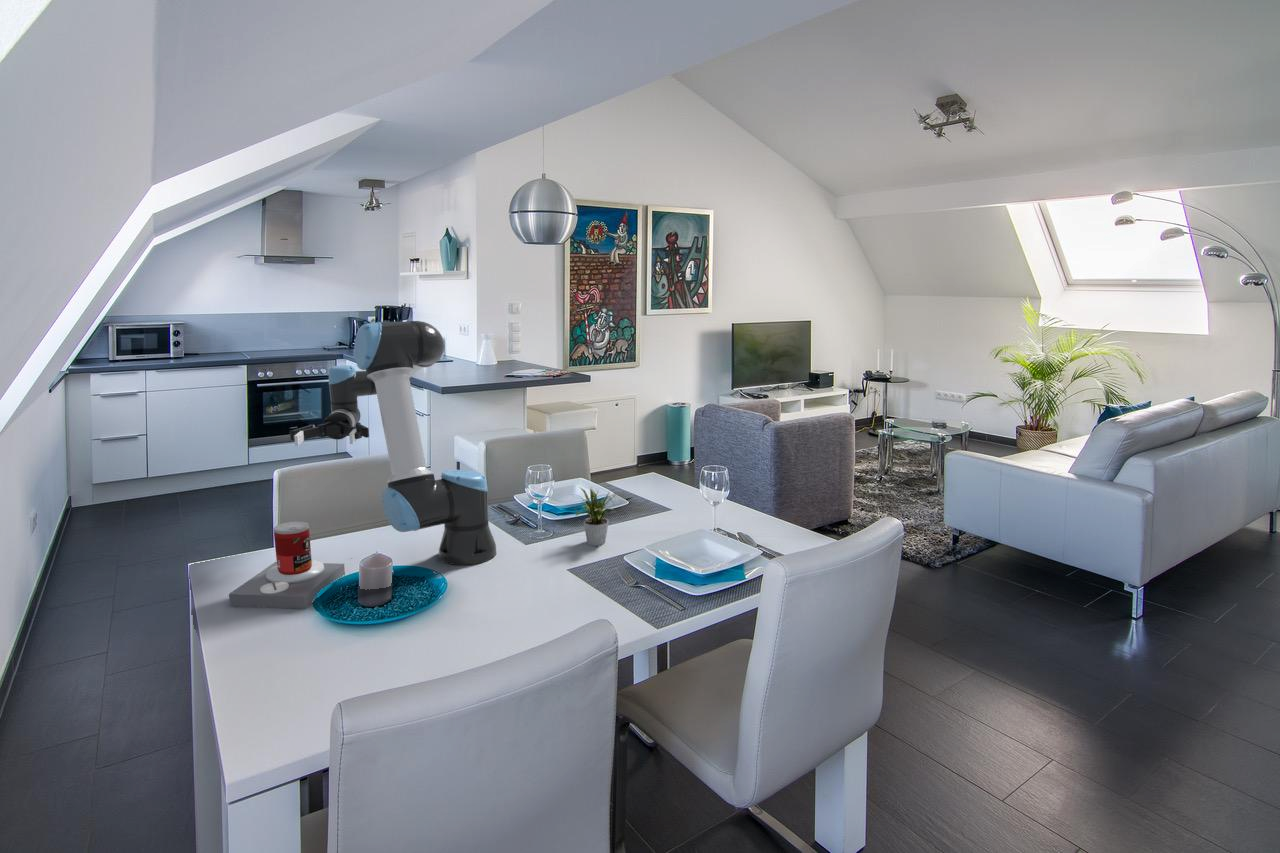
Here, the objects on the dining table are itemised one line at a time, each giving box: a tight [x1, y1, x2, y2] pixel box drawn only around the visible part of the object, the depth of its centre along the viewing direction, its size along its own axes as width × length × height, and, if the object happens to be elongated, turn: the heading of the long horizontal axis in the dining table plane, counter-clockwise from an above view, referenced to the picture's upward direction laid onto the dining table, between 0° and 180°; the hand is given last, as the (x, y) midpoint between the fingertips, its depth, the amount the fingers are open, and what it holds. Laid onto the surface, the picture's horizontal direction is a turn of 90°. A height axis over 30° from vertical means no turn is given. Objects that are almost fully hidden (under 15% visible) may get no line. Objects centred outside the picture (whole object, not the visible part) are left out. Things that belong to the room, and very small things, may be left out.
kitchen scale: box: [228, 559, 346, 610], centre depth 186 cm, size 18×20×4 cm
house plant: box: [570, 486, 619, 546], centre depth 218 cm, size 14×14×16 cm
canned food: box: [273, 521, 313, 575], centre depth 188 cm, size 8×8×11 cm
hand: (323, 440), depth 203 cm, fingers open, 13 cm apart
